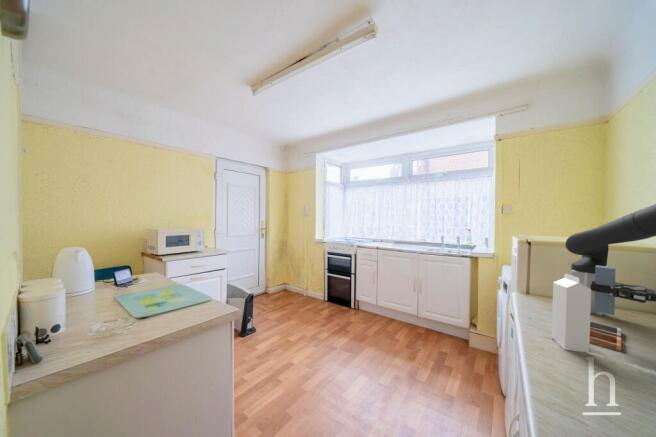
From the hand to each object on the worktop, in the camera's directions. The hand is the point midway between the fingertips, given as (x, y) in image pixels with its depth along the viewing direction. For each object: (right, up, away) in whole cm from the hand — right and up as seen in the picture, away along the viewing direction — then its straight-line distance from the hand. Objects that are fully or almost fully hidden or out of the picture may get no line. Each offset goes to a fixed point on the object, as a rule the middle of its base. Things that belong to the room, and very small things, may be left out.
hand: (591, 285), depth 76 cm
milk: (-10, -18, -3) cm, 21 cm away
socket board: (+5, -18, +1) cm, 19 cm away
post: (+2, -8, -2) cm, 8 cm away
